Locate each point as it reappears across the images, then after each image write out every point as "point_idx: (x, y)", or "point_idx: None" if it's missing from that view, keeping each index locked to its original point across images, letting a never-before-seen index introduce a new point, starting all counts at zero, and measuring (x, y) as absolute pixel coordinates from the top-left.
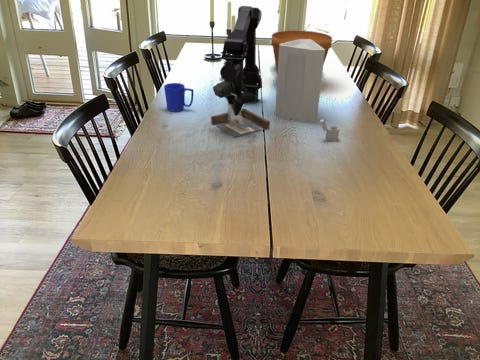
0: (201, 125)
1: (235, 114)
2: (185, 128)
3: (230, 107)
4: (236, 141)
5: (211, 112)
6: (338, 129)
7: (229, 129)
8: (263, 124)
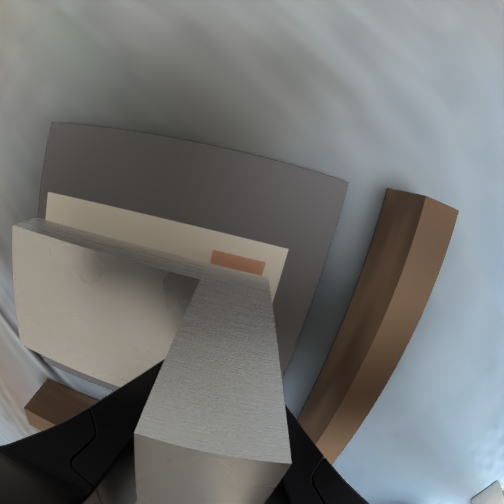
0: (443, 115)
1: (160, 361)
2: (460, 15)
3: (158, 388)
4: (19, 94)
5: (495, 352)
6: None
7: (173, 192)
8: (60, 403)
